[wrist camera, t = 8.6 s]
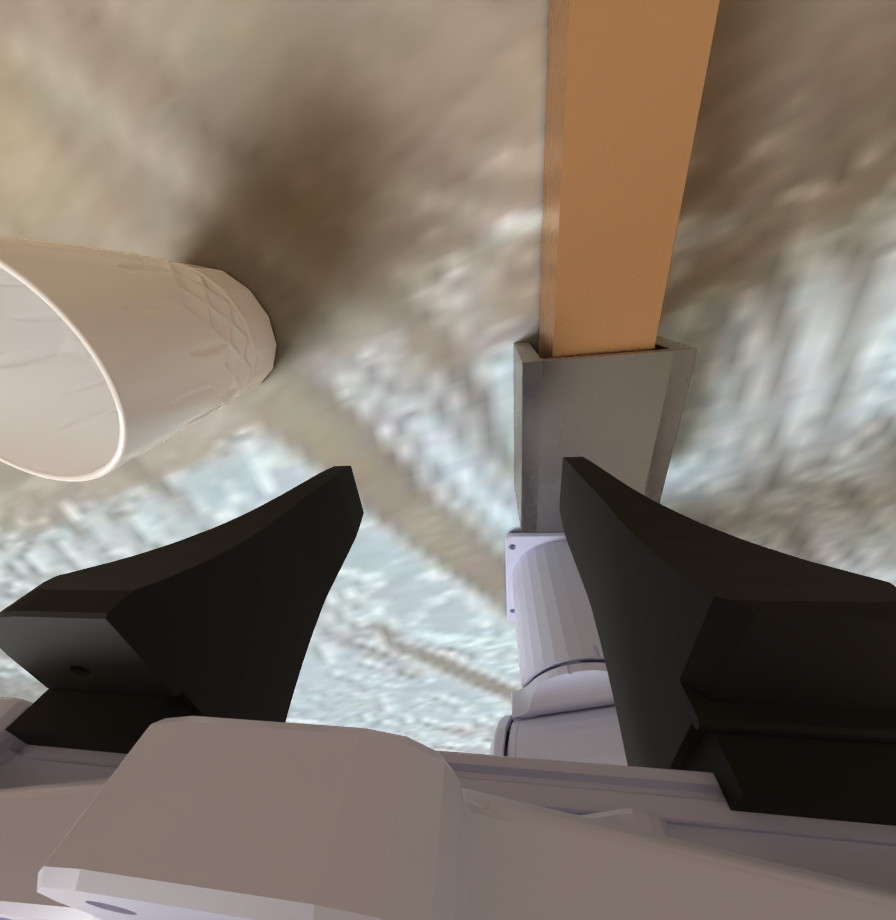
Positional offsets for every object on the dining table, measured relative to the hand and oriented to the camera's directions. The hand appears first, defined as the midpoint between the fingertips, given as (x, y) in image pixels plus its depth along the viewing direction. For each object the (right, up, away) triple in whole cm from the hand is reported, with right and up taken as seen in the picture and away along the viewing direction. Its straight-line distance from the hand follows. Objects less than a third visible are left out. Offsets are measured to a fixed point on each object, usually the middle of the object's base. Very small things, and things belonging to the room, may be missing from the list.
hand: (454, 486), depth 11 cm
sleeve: (+7, +3, +8) cm, 11 cm away
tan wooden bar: (+6, +13, +3) cm, 15 cm away
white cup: (-13, +8, +8) cm, 18 cm away
